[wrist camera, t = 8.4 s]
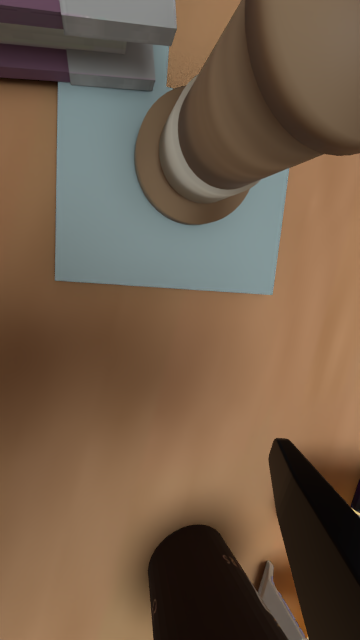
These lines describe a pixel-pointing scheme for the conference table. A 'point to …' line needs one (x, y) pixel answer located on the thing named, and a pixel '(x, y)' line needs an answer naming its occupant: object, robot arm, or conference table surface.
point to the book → (85, 40)
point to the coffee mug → (204, 591)
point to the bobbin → (254, 108)
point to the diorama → (275, 599)
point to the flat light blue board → (148, 206)
